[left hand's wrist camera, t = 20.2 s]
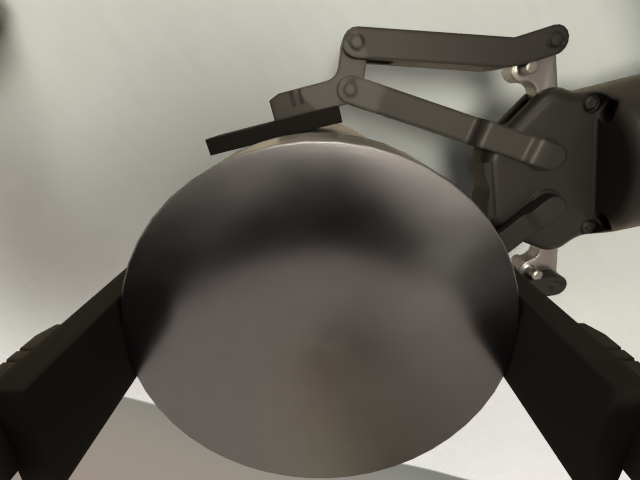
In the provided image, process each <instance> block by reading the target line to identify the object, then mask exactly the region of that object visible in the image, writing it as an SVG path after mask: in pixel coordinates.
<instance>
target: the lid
mask: <svg viewBox="0 0 640 480" xmlns="http://www.w3.org/2000/svg"><path fill="white" fill-rule="evenodd" d="M519 314H520V308H519V293H518V285H517V281H516V277H515V272H514V268H513V264H512V262H511V259H510V257H509V255H508V252H507V250H506V247H505V245H504V242H503V241H502V239H501V237H500V236H499V234H498V233H497V231H496V229H495V228H494V226H493V224H492V223H491V221H490V220H489V219H488V217H487V216H486V215H485V214H484V213H483V212H482V210H481V209H480V208H479V207H478V206H477V205H476V203H475V202H474V201H473V200H472V199H471V198H470V197H469V196H467V195H466V194H465V193H464V192H463V191H462V190H460V189H459V188H458V187H457V186H456V185H455V184H453V183H452V182H451V181H449V180H448V179H446V178H445V177H443V176H441V175H440V174H438V173H437V172H435V171H434V170H432V169H430V168H429V167H427V166H426V165H424V164H422V163H421V162H419V161H417V160H416V159H414V158H412V157H411V156H409V155H408V154H406V153H404V152H402V151H399V150H397V149H395V148H393V147H390V146H388V145H386V144H384V143H381V142H377V141H374V140H370V139H367V138H363V137H360V136H354V135H347V134H340V133H301V134H294V135H286V136H281V137H278V138H274V139H270V140H267V141H263V142H259V143H257V144H255V145H252V146H250V147H248V148H245V149H243V150H241V151H238V152H236V153H235V154H233V155H231V156H230V157H228V158H227V159H225V160H223V161H222V162H220V163H218V164H217V165H215V166H213V167H212V168H210V169H209V170H207V171H205V172H204V173H202V174H200V175H199V176H197V177H195V178H194V179H192V180H191V181H190V182H188V183H187V184H186V185H185V186H184V187H182V188H181V189H180V190H179V191H178V192H176V193H175V194H174V195H173V196H172V197H170V198H169V200H168V201H167V202H166V203H165V204H164V205H163V206H162V207H161V209H160V210H159V211H158V212H157V213H156V214H155V215H154V217H153V218H152V219H151V221H150V222H149V224H148V225H147V227H146V228H145V230H144V232H143V233H142V235H141V236H140V238H139V239H138V242H137V244H136V246H135V249H134V251H133V253H132V256H131V258H130V260H129V263H128V267H127V271H126V275H125V279H124V283H123V288H122V300H121V319H122V331H123V335H124V340H125V344H126V348H127V352H128V355H129V358H130V360H131V363H132V366H133V368H134V371H135V373H136V375H137V376H138V378H139V380H140V382H141V384H142V385H143V387H144V389H145V391H146V392H147V393H148V395H149V396H150V397H151V399H152V400H153V401H154V403H155V404H156V406H157V407H158V408H159V409H160V410H161V411H162V412H163V413H164V414H165V415H166V416H167V417H168V419H170V421H171V422H172V423H173V424H175V425H176V426H177V427H178V428H179V429H181V430H182V431H183V432H184V433H185V434H187V435H188V436H189V437H191V438H192V439H194V440H195V441H197V442H198V443H200V444H201V445H203V446H204V447H206V448H207V449H209V450H211V451H213V452H215V453H217V454H219V455H221V456H223V457H225V458H227V459H230V460H232V461H235V462H237V463H240V464H242V465H245V466H248V467H251V468H255V469H258V470H262V471H265V472H270V473H275V474H280V475H286V476H295V477H305V478H335V477H347V476H355V475H360V474H366V473H371V472H375V471H379V470H382V469H386V468H390V467H393V466H396V465H398V464H401V463H404V462H406V461H409V460H411V459H414V458H416V457H418V456H420V455H422V454H424V453H426V452H428V451H430V450H432V449H433V448H435V447H436V446H438V445H439V444H441V443H442V442H444V441H446V440H447V439H449V438H450V437H451V436H453V435H454V434H455V433H456V432H458V431H459V430H460V429H461V428H463V427H464V426H465V425H466V424H467V423H468V422H469V421H470V420H471V419H472V418H473V417H474V416H475V415H476V414H477V413H478V412H479V411H480V410H481V409H482V407H483V406H484V405H485V404H486V402H487V401H488V400H489V398H490V397H491V396H492V394H493V393H494V392H495V390H496V388H497V386H498V385H499V383H500V381H501V379H502V378H503V376H504V374H505V372H506V369H507V367H508V364H509V362H510V359H511V357H512V354H513V350H514V346H515V342H516V338H517V333H518V325H519Z"/></svg>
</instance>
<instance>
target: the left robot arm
mask: <svg viewBox="0 0 640 480" xmlns="http://www.w3.org/2000/svg"><path fill="white" fill-rule="evenodd" d="M126 271H127V268H126V269H125V270H124V271H122V272H121V273H120V274H119V275H118V276H117V277H116V278H114V279H113V280H112V281H111V282H110V283H109V284H107V285H106V286H105V287H104V288H103V289H102V290H100V291H99V292H98V293H97V294H96V295H95V296H93V297H92V298H91V299H90V300H89V301H88V302H87V303H85V304H84V305H83V306H82V307H81V308H80V309H78V310H77V311H76V312H75V313H74V314H73V315H71V316H70V317H69V318H68V319H67V320H66V321H65V322H63V323H62V324H57V325H55V326H53V327H51V328H49V329H47V330H45V331H43V332H42V333H40V334H38V335H36V336H35V337H34V338H32V339H31V340H30V341H29V342H27V343H26V344H25V345H24V346H23V347H21V348H20V351H17V352H15V353H14V354H13V355H12V356H10V357H9V358H8V359H7V361H6V363H2V364H1V365H0V480H11V479H12V478H13V476H14V475H15V474H16V473H17V471H19V474H20V476H21V478H22V480H68V479H69V477H70V476H71V474H72V473H73V471H74V470H75V468H76V467H77V465H78V464H79V462H80V461H81V459H82V458H83V456H84V455H85V453H86V452H87V450H88V449H89V447H90V446H91V444H92V443H93V441H94V440H95V438H96V437H97V435H98V434H99V432H100V431H101V429H102V428H103V426H104V425H105V423H106V422H107V420H108V419H109V417H110V416H111V414H112V413H113V411H114V410H115V408H116V407H117V405H118V404H119V402H120V401H121V399H122V398H123V396H124V395H125V393H126V392H127V390H128V389H129V387H130V386H131V384H132V383H133V381H134V380H135V378H136V377H137V375H136V373H135V371H134V368H133V366H132V363H131V360H130V358H129V355H128V352H127V348H126V344H125V340H124V335H123V331H122V319H121V300H122V288H123V283H124V279H125V275H126ZM514 272H515V277H516V281H517V285H518V293H519V308H520V314H519V325H518V333H517V338H516V342H515V346H514V350H513V354H512V357H511V359H510V362H509V364H508V367H507V369H506V372H505V374H504V378H505V379H506V381H507V382H508V384H509V385H510V387H511V388H512V390H513V391H514V393H515V394H516V396H517V397H518V399H519V400H520V402H521V403H522V405H523V406H524V408H525V409H526V411H527V412H528V414H529V415H530V417H531V418H532V420H533V421H534V423H535V424H536V426H537V427H538V429H539V430H540V432H541V433H542V435H543V436H544V438H545V439H546V441H547V442H548V444H549V445H550V447H551V448H552V450H553V452H554V453H555V455H556V456H557V458H558V459H559V461H560V462H561V464H562V465H563V467H564V468H565V470H566V471H567V473H568V474H569V476H570V477H571V479H572V480H618V479H619V477H620V474H621V472H622V470H624V471H625V473H626V474H627V475H628V476H629V478H630V479H631V480H640V363H639V362H638V361H634V358H633V357H632V356H631V355H630V354H628V353H627V352H626V351H625V350H621V347H620V346H619V345H617V344H616V343H615V342H614V341H612V340H611V339H610V338H609V337H608V336H606V335H605V334H603V333H601V332H600V331H598V330H596V329H594V328H592V327H590V326H588V325H586V324H585V323H577V322H576V321H575V320H573V319H572V318H571V317H570V316H569V315H568V314H566V313H565V312H564V311H563V310H562V309H561V308H560V307H558V306H557V305H556V304H555V303H554V302H553V301H551V300H550V299H549V298H548V297H547V296H546V295H544V294H543V293H542V292H541V291H540V290H539V289H537V288H536V287H535V286H534V285H533V284H532V283H531V282H529V281H528V280H527V279H526V278H525V277H524V276H522V275H521V274H520V273H519V272H518V271H517V270H515V269H514Z"/></svg>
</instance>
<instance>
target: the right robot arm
mask: <svg viewBox="0 0 640 480" xmlns="http://www.w3.org/2000/svg"><path fill="white" fill-rule="evenodd" d="M568 39H569V34H568V30H567V29H566V28H565V26H562V25H560V24H558V25H552V26H549V27H546V28H543V29H540V30H537V31H533V32H530V33H527V34H524V35H521V36H518V37H501V36H487V35H472V34H458V33H444V32H429V31H415V30H401V29H387V28H372V27H352V28H351V29H349V30H348V31H347V32H346V34H345V35H344V38H343V40H342V43H341V47H340V56H339V65H338V71H337V73H336V75H335V76H334V77H333V78H332V79H330V80H328V81H325V82H322V83H318V84H314V85H310V86H306V87H303V88H299V89H295V90H291V91H287V92H284V93H280V94H278V95H276V96H275V97H274V98H273V99H271V100H270V105H271V109H272V112H273V116H274V120H275V121H272V122H268V123H264V124H260V125H256V126H253V127H249V128H245V129H241V130H237V131H233V132H229V133H225V134H221V135H218V136H215V137H212V138H209V139H206V143H207V146H208V149H209V152H210V155H214V154H218V153H222V152H226V151H230V150H234V149H238V148H242V147H246V146H250V145H254V144H257V143H259V142H263V141H267V140H270V139H274V138H278V137H281V136H286V135H294V134H297V133H301V132H305V131H309V130H313V129H317V128H321V127H325V126H329V125H333V124H337V123H341V122H342V119H341V114H340V109H339V106H342V105H345V104H349V105H352V106H355V107H358V108H361V109H364V110H367V111H370V112H373V113H376V114H379V115H382V116H385V117H388V118H391V119H394V120H397V121H400V122H403V123H406V124H409V125H412V126H415V127H418V128H421V129H424V130H427V131H430V132H433V133H436V134H439V135H442V136H445V137H448V138H451V139H453V140H456V141H459V142H462V143H465V144H468V145H471V146H474V147H475V148H474V150H473V153H472V156H470V157H468V165H469V172H470V174H471V177H472V179H473V182H474V186H473V192H472V197H471V198H472V200H473V201H474V202H475V203H476V205H477V206H478V207H479V208H480V209H481V210H482V212H483V213H484V214H485V215H486V216H487V217H488V219H489V220H490V221H491V223H492V224H493V226H494V228H495V229H496V231H497V233H498V234H499V236H500V237H501V239H502V241H503V242H504V245H505V247H506V250H507V252H508V253H509V252H510V251H511V250H513V249H514V248H515V247H517V246H518V245H519V244H521V243H522V242H525V243H528V244H530V248H529V249H528V251H527V252H525V253H524V254H521V255H518V254H515V255H513V256H512V258H511V261H512V264H513V268H514V269H515V270H517V271H518V272H519V273H520V274H521V275H522V276H524V277H525V278H526V279H527V280H528V281H529V282H531V283H532V284H533V285H534V286H535V287H536V288H537V289H539V290H540V291H541V292H542V293H543V294H544V295H546V296H551V295H556V294H559V293H561V292H562V291H563V290H564V289H565V288H566V285H567V283H566V280H565V279H564V277H562V276H561V275H559V274H558V273H557V272H556V263H557V248H559V247H561V246H563V245H564V244H566V243H567V242H568V241H570V240H572V239H573V238H575V237H577V236H580V235H583V234H592V233H604V232H612V231H618V230H622V229H627V228H632V227H637V226H640V74H639V75H635V76H631V77H626V78H622V79H618V80H614V81H610V82H606V83H602V84H598V85H594V86H590V87H586V88H582V89H578V90H574V91H569V90H566V89H563V88H559V87H557V70H556V54H558V53H560V52H561V51H562V50H563V49H564V48H565V47H566V45H567V43H568ZM366 64H375V65H390V66H404V67H419V68H434V69H449V70H463V71H491V70H498V69H501V70H502V71H501V73H502V76H503V78H504V80H505V81H507V82H509V83H519V84H521V85H523V86H524V88H525V90H526V94H525V95H523V96H522V97H521V98H520V99H519V100H518V101H517V102H516V103H515V104H514V105H513V106H512V107H511V108H510V110H509V111H508V112H507V113H506V114H505V115H504V116H503V117H502V118H501V119H500V120H499V121H498V122H497V123H494V122H491V121H488V120H484V119H480V118H477V117H474V116H471V115H468V114H465V113H462V112H459V111H456V110H454V109H451V108H448V107H445V106H442V105H439V104H436V103H433V102H430V101H427V100H424V99H422V98H419V97H416V96H413V95H410V94H407V93H404V92H401V91H398V90H395V89H392V88H390V87H387V86H384V85H381V84H378V83H375V82H372V81H369V80H366V79H364V75H365V68H366Z"/></svg>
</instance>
